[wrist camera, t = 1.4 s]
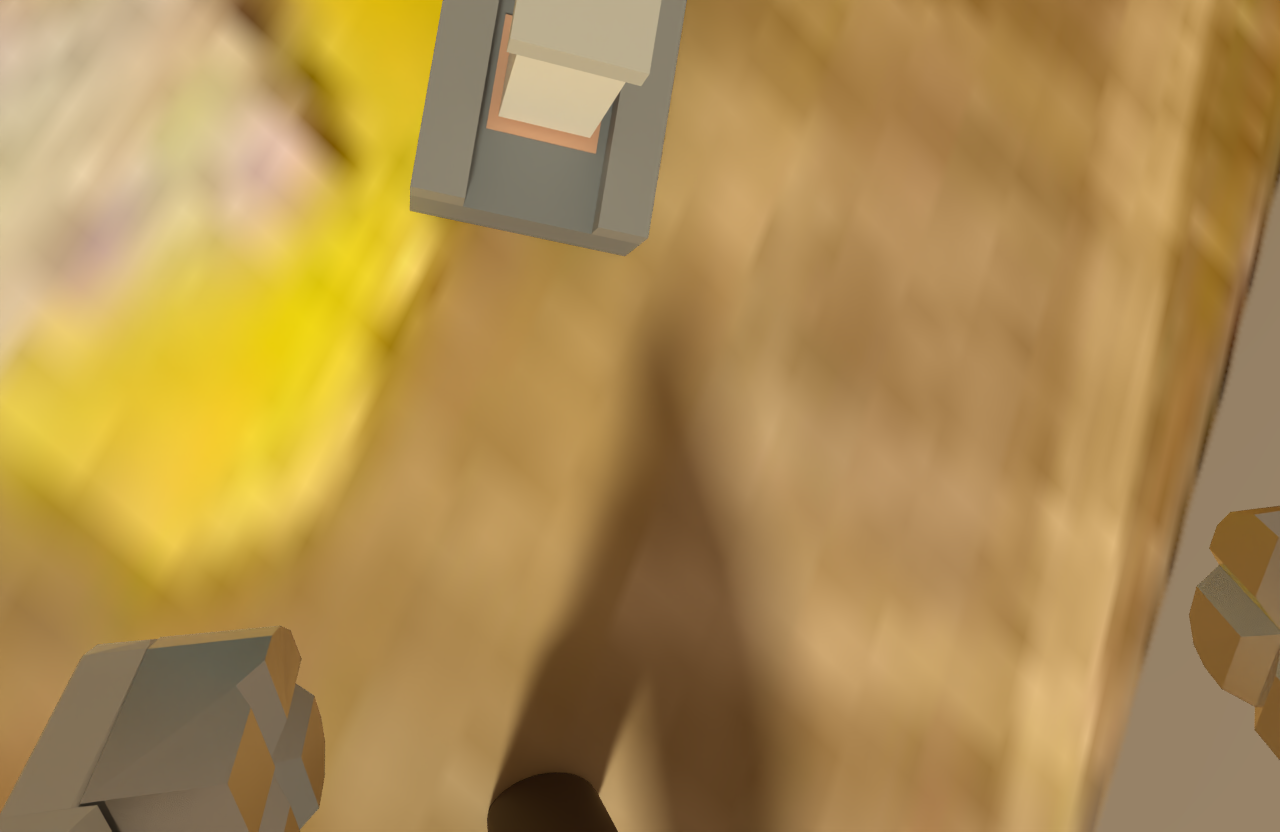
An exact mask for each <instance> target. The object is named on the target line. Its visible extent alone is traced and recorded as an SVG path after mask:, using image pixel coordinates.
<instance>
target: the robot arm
mask: <svg viewBox="0 0 1280 832" xmlns="http://www.w3.org/2000/svg"><path fill="white" fill-rule="evenodd" d="M1209 549H1210V550H1211V552H1212V554H1213V555H1214V557H1215V559H1216V560H1217V562H1218V564H1219V566H1218V567H1217V568H1216V569H1214V570H1213V571H1212V572H1211V573H1210V574H1209V575H1208V576H1207V577H1206V578H1205V579H1204V580H1203V581H1202V582H1201V583H1200V584H1199V585H1197V587H1196V591H1195V594H1194V599H1193V602H1192V606H1191V609H1190V613H1189V618H1190V624H1191V630H1192V637H1193V643H1194V646H1195V648H1196V650H1197V652H1198V654H1199V656H1200V659H1201V660H1202V663H1203V665H1204V667H1205V668H1206V669H1207V671H1208V672H1209V673H1210V674H1211V676H1212V677H1213V678H1214V680H1215V681H1216V682H1217V684H1218V685H1219V686H1220V687H1221V689H1223V690H1224V691H1226V692H1228V693H1230V694H1232V695H1234V696H1236V697H1238V698H1239V699H1241V700H1243V701H1245V702H1247V703H1249V704H1251V705H1252V706H1254V707H1255V731H1256V732H1257V733H1258V734H1259V736H1260V737H1261V738H1262V739H1263V740H1264V742H1265V743H1266V744H1267V745H1268V746H1269V748H1270V749H1271V750H1272V751H1273V753H1274V754H1275V755H1276V756H1277V757H1278V759H1279V760H1280V506H1274V507H1266V508H1258V509H1250V510H1242V511H1235V512H1230V513H1229V514H1228V515H1227V516H1226V517H1225V518H1224V519H1223V520H1222V521H1221V522H1220V523H1219V524H1218V525H1217V527H1216V530H1215V533H1214V536H1213V539H1212V541H1211V544H1210V548H1209ZM301 659H302V658H301V656H300V653H299V650H298V648H297V645H296V643H295V640H294V638H293V635H292V632H291V630H289V629H287V628H285V627H282V626H273V627H262V628H252V629H242V630H231V631H221V632H210V633H200V634H190V635H179V636H169V637H160V638H159V639H153V640H141V641H130V642H120V643H109V644H98V645H96V646H95V647H94V648H93V649H91V650H90V651H89V652H87V653H86V654H85V655H83V656H82V658H81V659H80V661H79V663H78V665H77V666H76V668H75V670H74V672H73V674H72V676H71V678H70V680H69V682H68V684H67V686H66V688H65V690H64V692H63V693H62V695H61V697H60V699H59V701H58V703H57V705H56V707H55V709H54V711H53V713H52V715H51V717H50V719H49V720H48V722H47V724H46V726H45V728H44V730H43V732H42V734H41V736H40V738H39V740H38V742H37V744H36V746H35V748H34V749H33V751H32V753H31V755H30V757H29V759H28V761H27V763H26V765H25V767H24V769H23V771H22V773H21V775H20V776H19V778H18V780H17V782H16V784H15V786H14V788H13V790H12V792H11V794H10V796H9V798H8V800H7V802H6V803H5V805H4V807H3V809H2V811H1V813H0V832H300V829H301V828H302V826H303V825H304V824H305V823H306V822H307V821H308V820H309V819H310V818H311V816H312V815H313V814H314V813H315V812H316V811H317V810H318V809H319V806H320V801H321V795H322V789H323V783H324V778H325V738H324V732H323V726H322V719H321V715H320V712H319V709H318V706H317V702H316V699H315V696H314V695H312V694H311V693H309V692H308V691H306V690H305V689H303V688H302V687H300V686H299V685H297V684H296V680H297V676H298V672H299V668H300V664H301Z"/></svg>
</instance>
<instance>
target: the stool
mask: <svg viewBox="0 0 1280 832" xmlns="http://www.w3.org/2000/svg"><path fill="white" fill-rule="evenodd" d="M487 826H488V832H618V831H617V829H616V827H615V825H614V823H613V822H612V820H611V818H610V816H609V814H608V812H607V810H606V808H605V806H604V805H603V803H602V801H601V799H600V797H599V795H598V793H597V792H596V791H595V789H594V788H593V787H592V785H591V784H590V783H589V782H588V781H586V780H585V779H583V778H581V777H579V776H576V775H572V774H567V773H547V774H541V775H537V776H533V777H530V778H527V779H525V780H522V781H520V782H518V783H516V784H514V785H513V786H511V787H509V788H508V789H507V790H505V791H504V792H503V793H502V794H501V795H500V796H499V797H498V798H497V799H496V800H495V801H494V803H493V804H492V806H491V808H490V810H489V813H488V818H487Z"/></svg>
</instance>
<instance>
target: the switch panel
mask: <svg viewBox="0 0 1280 832" xmlns="http://www.w3.org/2000/svg"><path fill="white" fill-rule="evenodd" d="M686 1H687V0H661V6H660V12H659V19H658V25H657V31H656V37H655V43H654V49H653V55H652V61H651V68H650V74H649V76H648V77H647V78H646V80H645V81H644V83H643V84H642V86H638V85H634V84H631V83H627V82H626V83H625V84H624V86H623V87H622V89H621V90H620V92H619V94H618V95H617V97H616V98H615V100H614V101H613V103H612V105H611V106H610V108H609V109H608V111H607V112H606V114H605V116H604V117H603V119H602V120H601V122H600V123H599V125H598V126H597V128H596V130H595V131H594V133H593V134H592V136H591V137H590V138H588V137H584V136H579V135H575V134H571V133H567V132H563V131H558V130H554V129H550V128H546V127H542V126H538V125H533V124H529V123H525V122H521V121H517V120H512V119H508V118H504V117H500V116H498V115H499V109H500V103H501V97H502V92H503V86H504V80H505V74H506V68H507V62H508V56H509V52H507V46H508V40H509V34H510V28H511V22H512V17H513V11H514V5H515V0H443V3H442V9H441V14H440V20H439V26H438V32H437V37H436V43H435V49H434V54H433V60H432V66H431V72H430V77H429V83H428V89H427V94H426V100H425V106H424V112H423V117H422V123H421V129H420V134H419V140H418V146H417V152H416V157H415V163H414V169H413V174H412V180H411V186H410V211H414V212H419V213H424V214H428V215H433V216H438V217H442V218H447V219H452V220H457V221H461V222H466V223H471V224H476V225H480V226H485V227H490V228H494V229H499V230H504V231H509V232H513V233H518V234H523V235H528V236H532V237H537V238H542V239H546V240H551V241H556V242H561V243H565V244H570V245H575V246H580V247H584V248H589V249H594V250H598V251H603V252H608V253H613V254H617V255H622V256H626V255H627V254H628V253H630V252H631V251H632V250H633V249H635V248H636V247H637V246H639V245H640V244H641V243H642V242H644V241H645V240H646V239H647V238H648V235H649V229H650V223H651V217H652V211H653V205H654V198H655V192H656V186H657V180H658V174H659V167H660V161H661V155H662V149H663V143H664V137H665V130H666V124H667V118H668V112H669V106H670V100H671V93H672V87H673V81H674V75H675V69H676V63H677V56H678V50H679V44H680V38H681V32H682V26H683V19H684V13H685V7H686Z"/></svg>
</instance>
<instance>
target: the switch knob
mask: <svg viewBox="0 0 1280 832" xmlns="http://www.w3.org/2000/svg"><path fill="white" fill-rule="evenodd" d="M660 6H661V0H515V5H514V11H513V17H512V22H511V28H510V34H509V40H508V46H507V52H509V56H508V62H507V68H506V74H505V80H504V86H503V92H502V97H501V103H500V109H499V115H498V116H500V117H504V118H508V119H512V120H517V121H521V122H525V123H529V124H533V125H538V126H542V127H546V128H550V129H554V130H558V131H563V132H567V133H571V134H575V135H579V136H584V137H588V138H590V137H591V136H592V134H593V133H594V131H595V130H596V128H597V126H598V125H599V123H600V122H601V120H602V119H603V117H604V116H605V114H606V112H607V111H608V109H609V108H610V106H611V105H612V103H613V101H614V100H615V98H616V97H617V95H618V94H619V92H620V90H621V89H622V87H623V86H624V84H625V83H626V82H627V83H631V84H634V85H638V86H642V84H643V83H644V81H645V80H646V78H647V77H648V76H649V74H650V68H651V61H652V55H653V49H654V43H655V37H656V31H657V25H658V19H659V12H660Z"/></svg>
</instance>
